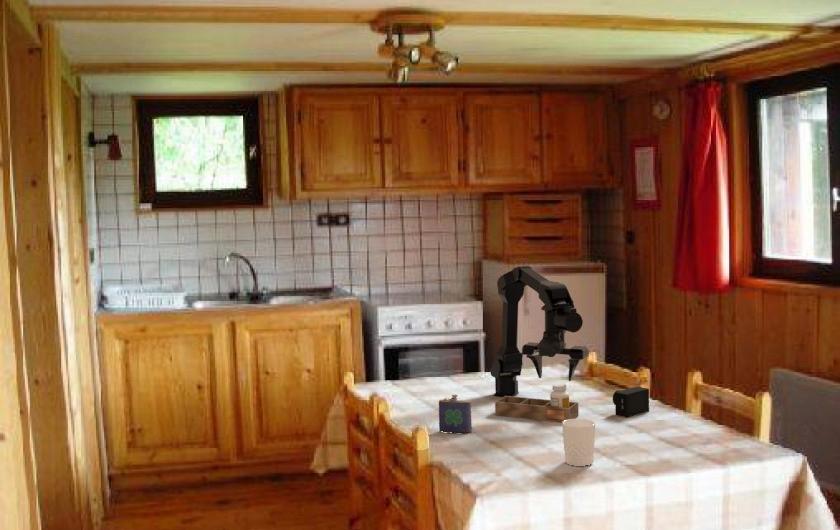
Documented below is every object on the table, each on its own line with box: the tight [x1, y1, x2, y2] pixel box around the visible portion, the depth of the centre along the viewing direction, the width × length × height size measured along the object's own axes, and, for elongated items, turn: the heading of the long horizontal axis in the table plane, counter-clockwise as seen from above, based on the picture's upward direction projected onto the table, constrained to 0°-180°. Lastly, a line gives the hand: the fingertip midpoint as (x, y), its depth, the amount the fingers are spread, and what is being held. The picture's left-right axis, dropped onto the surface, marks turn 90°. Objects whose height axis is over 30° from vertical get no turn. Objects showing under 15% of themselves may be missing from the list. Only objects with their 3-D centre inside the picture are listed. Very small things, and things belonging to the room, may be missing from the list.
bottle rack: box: [494, 396, 580, 423], centre depth 263 cm, size 23×8×4 cm, turn 62°
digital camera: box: [612, 386, 650, 419], centre depth 263 cm, size 10×5×7 cm, turn 128°
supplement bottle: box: [549, 383, 570, 408], centre depth 259 cm, size 5×5×10 cm
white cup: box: [561, 418, 596, 467], centre depth 217 cm, size 8×8×10 cm
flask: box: [438, 394, 473, 434], centre depth 248 cm, size 9×3×11 cm, turn 74°
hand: (555, 379), depth 262 cm, fingers open, 9 cm apart
